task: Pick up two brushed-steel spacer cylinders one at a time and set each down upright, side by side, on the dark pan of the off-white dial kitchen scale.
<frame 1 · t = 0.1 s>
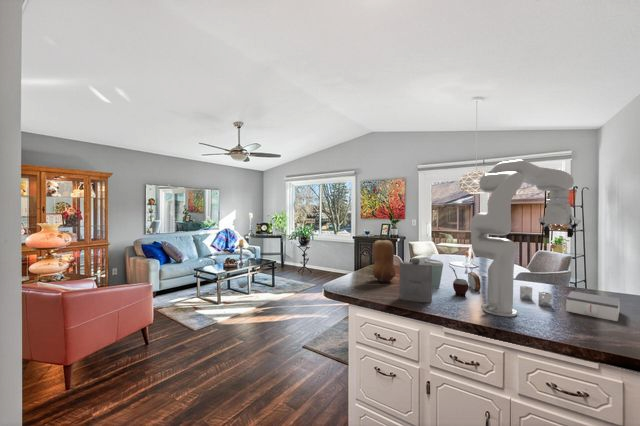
hand: (558, 236, 148), 31 cm above the counter, tool pointing down, fingers open, 9 cm apart
spacer a: (545, 306, 138), on the counter
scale: (592, 311, 131), on the counter
butternut squash: (383, 281, 180), on the counter
spacer b: (525, 299, 148), on the counter
bread slice: (473, 289, 167), on the counter
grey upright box: (415, 300, 145), on the counter
disposable coffee cup: (433, 287, 169), on the counter
mate gourd: (459, 296, 153), on the counter
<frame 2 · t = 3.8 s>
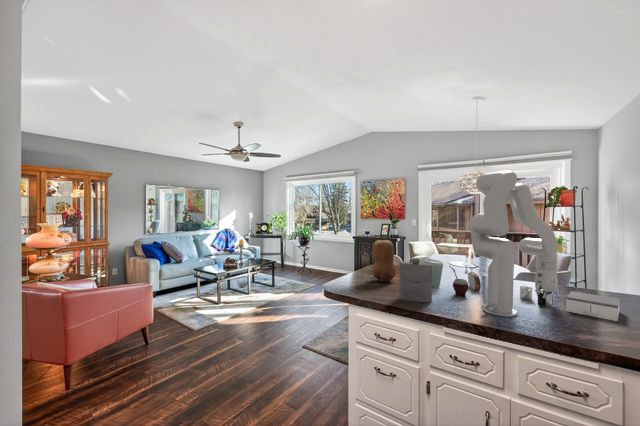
hand: (545, 304, 138), 1 cm above the counter, tool pointing down, fingers closed on spacer a, 5 cm apart
spacer a: (545, 306, 138), on the counter, touching gripper
everything else where it was.
when the fingers open (8 cm above the counter, at t = 9.4 s): spacer a stays where it is, resting on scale.
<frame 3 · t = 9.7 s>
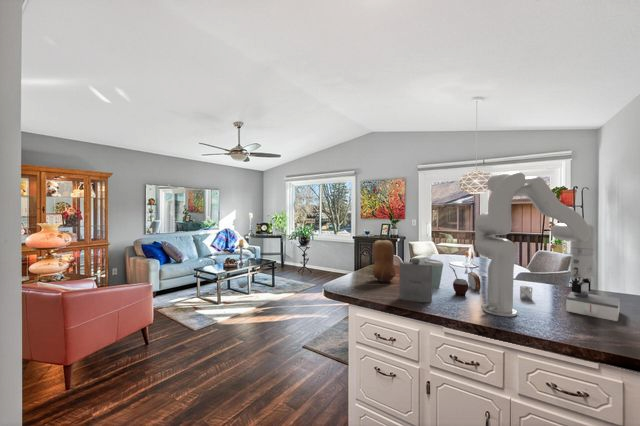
hand: (581, 291, 134), 8 cm above the counter, tool pointing down, fingers open, 7 cm apart
spacer a: (580, 295, 134), point 6 cm above the counter, touching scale
everything else where it was.
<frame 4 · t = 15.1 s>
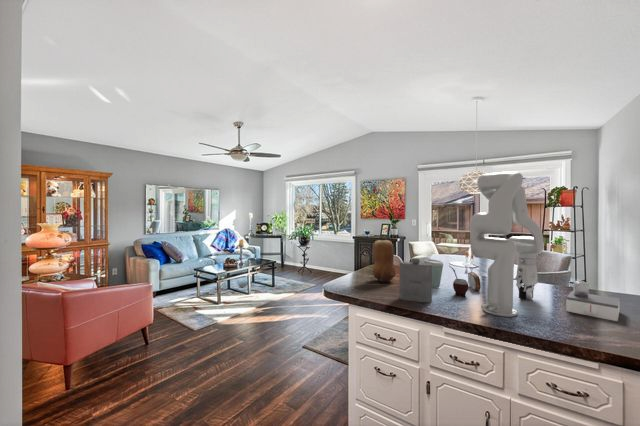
hand: (525, 297, 148), 1 cm above the counter, tool pointing down, fingers closed on spacer b, 5 cm apart
spacer b: (525, 299, 148), on the counter, touching gripper
everything else where it was.
when the fingers open (8 cm above the counter, at t = 21.7 s): spacer b stays where it is, resting on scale.
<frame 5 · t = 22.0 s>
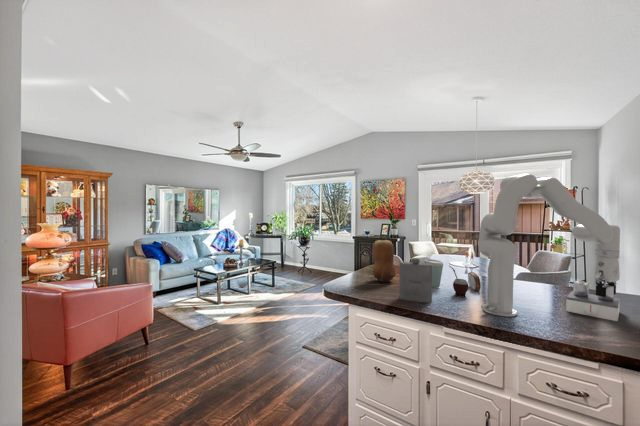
hand: (605, 294, 128), 8 cm above the counter, tool pointing down, fingers open, 8 cm apart
spacer b: (605, 299, 128), point 6 cm above the counter, touching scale
everything else where it was.
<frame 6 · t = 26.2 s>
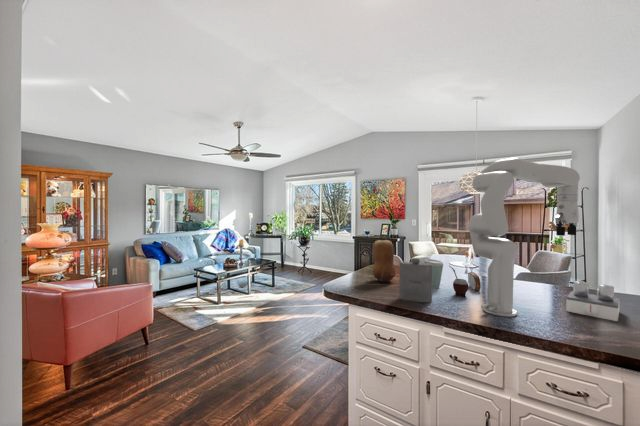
hand: (566, 235, 141), 32 cm above the counter, tool pointing down, fingers open, 9 cm apart
nothing on the counter moved.
at the end: spacer a inside the target area on the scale (4.0 cm from its centre), point 6.0 cm above the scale's base; spacer b inside the target area on the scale (3.9 cm from its centre), point 6.0 cm above the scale's base; spacer b tilted 1° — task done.
